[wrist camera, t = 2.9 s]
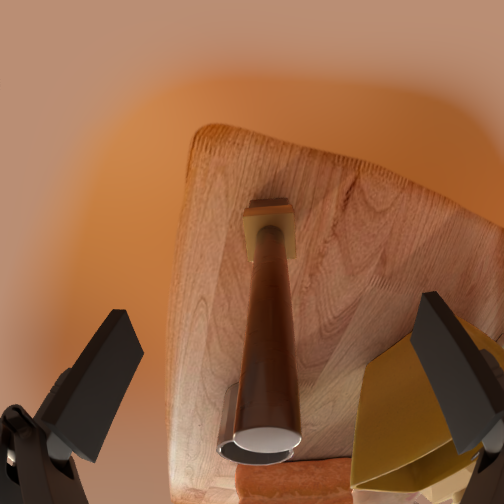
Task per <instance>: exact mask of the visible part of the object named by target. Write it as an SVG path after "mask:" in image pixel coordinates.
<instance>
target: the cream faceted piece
mask: <svg viewBox="0 0 504 504" xmlns="http://www.w3.org/2000/svg"><path fill="white" fill-rule="evenodd" d="M475 465H476V461H475V462H474V463H472V464H471V465H469V466H467V467H466V468H464V469H462V470H461V471H459V472H457V473H455V474H454V475H452V476H450V477H448V478H446V479H444V480H442V481H440V482H438V483H436V484H434V485H432V486H430V487H428V488H426V489H424V490H421V491H419V492H420V493H422V494H423V495H424V496H425V497H426V498H427V499H428V500H429V501H431V503H433V504H438V503H441V502H444V501H446V500H448V499H451V498H452V499H453V503H452V504H459V503H460V501H461V499H462V497H463V494H464V492H465V490H466V488H467V485H468V483H469V480H470V478H471V475H472V473H473V470H474V467H475Z"/></svg>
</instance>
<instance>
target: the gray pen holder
mask: <svg viewBox="0 0 504 504" xmlns="http://www.w3.org/2000/svg"><path fill="white" fill-rule="evenodd" d="M238 388H239V383H236V384H234V385H233V386H231V387H230V388H229V389H228V390H227V391H226V393H225V398H224V404H223V410H222V417H221V423H220V429H219V436H218V442H217V449H216V452H217V453H218V454H219V455H220V456H221V457H223V458H225V459H227V460H229V461H231V462H235V463H239V464H243V465H253V466H262V465H272V464H277V463H281V462H284V461H286V460H288V459H290V458H291V456H292V455H293V454H294V448H292V449H289V450H286V451H283V452H277V453H259V452H253V451H249V450H246V449H243V448H241V447H239V446H238V445H237V444H235V442H234V440H233V430H234V421H235V413H236V405H237V396H238Z"/></svg>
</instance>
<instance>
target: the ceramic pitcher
mask: <svg viewBox="0 0 504 504" xmlns="http://www.w3.org/2000/svg"><path fill="white" fill-rule="evenodd" d="M420 494H421V493H420V492H416V493H389V492H376V491H366V490H357V489H354V490H353V492H352V496H353V504H418V503H417V502H416V501H415V500H416V498H418V497H419V495H420Z"/></svg>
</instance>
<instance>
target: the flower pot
mask: <svg viewBox="0 0 504 504" xmlns="http://www.w3.org/2000/svg"><path fill="white" fill-rule="evenodd" d="M454 315H455V314H454ZM455 316H456V318H457V319H458V320H459V322H460V323H461V324H462V326H463V327H464V329H465V330H466V331H467V333H468V334H469V336H470V337H471V339H472V340H473V342H474V343H475V345H476V346H477V348H478V349H479V350H482V349H486V350H487V351H489V352H490V353H491V354H492V355H493V356H494V357H495V358H496V360H497V361H498V363H499V365H500V367H501V368H502V369H503V371H504V349H503V348H502V347H501V346H500V345H499V344H497V343H496V342H495V341H494V340H492V339H491V338H490V337H489V336H487V335H486V334H485V333H484V332H482V331H481V330H479V329H478V328H477V327H475V326H474V325H472V324H470V323H469V322H467V321H465V320H464V319H462V318H460V317H459V316H457V315H455ZM411 334H412V332H411V333H409V334H408V335H407V336H406V337H404V338H403V339H402V340H400V341H399V342H398V343H396V344H395V345H394V346H392V347H391V348H390V349H388V350H387V351H386V352H384V353H383V354H381V355H380V356H379V357H377V358H376V359H374V360H373V361H371V362H370V363H369V364H368V365H367V366H366V369H365V373H364V377H363V383H362V387H361V393H360V399H359V404H358V410H357V417H356V424H355V433H354V442H353V452H352V462H351V476H350V488H351V489H357V490H366V491H376V492H389V493H416V492H419V491H421V490H424V489H426V488H428V487H430V486H432V485H434V484H436V483H438V482H440V481H442V480H444V479H446V478H448V477H450V476H452V475H454V474H455V473H457V472H459V471H461V470H462V469H464V468H466V467H467V466H469V465H471V464H472V463H474V462H475V461H476V460H477V459H478V456H479V455H478V456H477V457H476V458H475V459H474V460H473V461H472V460H471V459H472V457H473V455H474V454H475V453H476V452H478V451H479V450H480V449H481V448H482V447H483V446H484V445H483V442H482V441H481V442H480V443H479V444H478V445H477V446H476V447H475V448H474V449H472V450H469V451H467V452H465V453H463V454H460V455H458V453H457V450H456V447H455V444H454V442H453V439H452V436H451V433H450V431H449V428H448V425H447V423H446V420H445V418H444V415H443V413H442V410H441V408H440V405H439V403H438V400H437V398H436V396H435V393H434V391H433V389H432V386H431V384H430V382H429V380H428V377H427V375H426V373H425V371H424V369H423V367H422V365H421V362H420V360H419V358H418V356H417V354H416V352H415V350H414V348H413V346H412V344H411V342H410V338H411Z"/></svg>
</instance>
